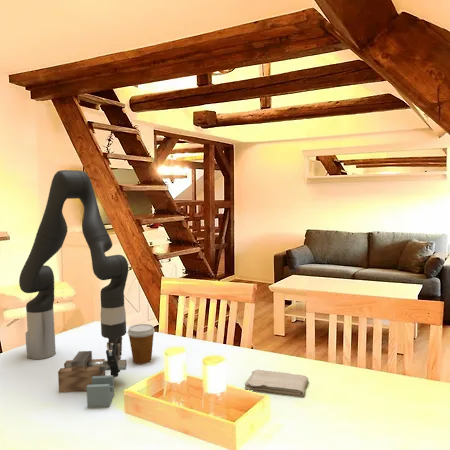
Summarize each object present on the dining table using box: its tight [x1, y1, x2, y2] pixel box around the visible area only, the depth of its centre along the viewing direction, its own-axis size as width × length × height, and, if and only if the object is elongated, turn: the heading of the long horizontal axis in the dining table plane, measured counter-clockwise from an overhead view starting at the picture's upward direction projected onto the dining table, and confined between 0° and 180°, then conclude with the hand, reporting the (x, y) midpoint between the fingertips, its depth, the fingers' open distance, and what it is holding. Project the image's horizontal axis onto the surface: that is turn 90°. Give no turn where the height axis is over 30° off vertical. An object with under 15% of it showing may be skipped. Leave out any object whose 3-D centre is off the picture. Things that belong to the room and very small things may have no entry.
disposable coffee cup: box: [126, 323, 156, 365], centre depth 158 cm, size 10×10×12 cm
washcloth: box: [244, 369, 309, 398], centre depth 135 cm, size 12×18×3 cm, turn 72°
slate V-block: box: [86, 374, 115, 409], centre depth 128 cm, size 6×7×6 cm
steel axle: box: [66, 359, 128, 372], centre depth 138 cm, size 18×3×3 cm, turn 93°
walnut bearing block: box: [57, 350, 106, 394], centre depth 138 cm, size 12×9×9 cm
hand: (115, 374), depth 139 cm, fingers closed on steel axle, 3 cm apart
